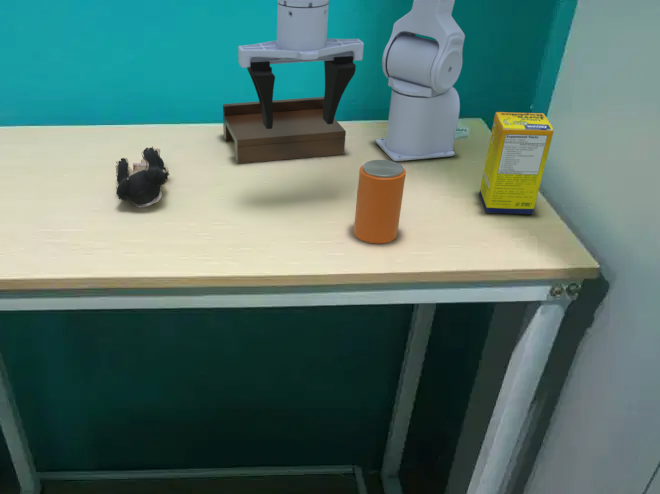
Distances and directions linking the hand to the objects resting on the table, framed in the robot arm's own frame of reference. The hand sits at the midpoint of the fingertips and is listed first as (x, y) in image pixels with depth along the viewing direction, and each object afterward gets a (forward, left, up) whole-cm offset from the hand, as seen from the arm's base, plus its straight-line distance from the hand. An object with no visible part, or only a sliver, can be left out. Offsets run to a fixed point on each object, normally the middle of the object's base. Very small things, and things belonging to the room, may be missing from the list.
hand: (298, 123), depth 90 cm
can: (-7, +12, -10) cm, 17 cm away
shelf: (-3, -18, -10) cm, 21 cm away
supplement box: (-26, +8, -10) cm, 29 cm away
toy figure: (+19, -7, -10) cm, 23 cm away
